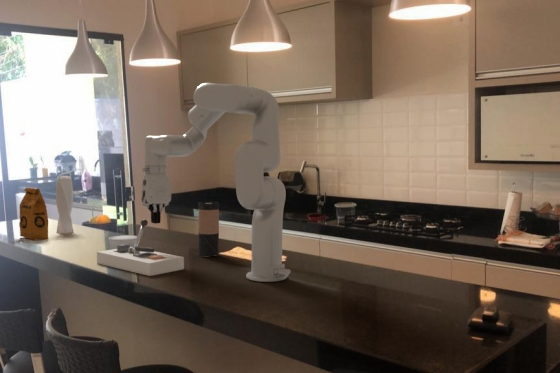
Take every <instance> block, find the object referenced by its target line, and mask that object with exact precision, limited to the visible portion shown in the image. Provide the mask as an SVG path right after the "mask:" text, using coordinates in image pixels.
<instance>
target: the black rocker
mask: <svg viewBox="0 0 560 373" xmlns="http://www.w3.org/2000/svg"><path fill="white" fill-rule="evenodd" d="M135 251H140V252H154V251H155V248H153V247H145V246H144V247H140V246H137V247H136V250H135Z"/></svg>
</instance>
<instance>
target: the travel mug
mask: <svg viewBox="0 0 560 373" xmlns="http://www.w3.org/2000/svg"><path fill="white" fill-rule="evenodd" d="M219 209H220V202H218V201H207V202H202V201H199V202H198V225H197V226H198V227H197V232H198V234H197V235H198V238H197V240H198V256H199V255H200V256H214V255H218V256H219V242H220V241H219V239H220V238H219V236H220V213H219V212H220V211H219ZM200 256H199V257H200Z"/></svg>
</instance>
